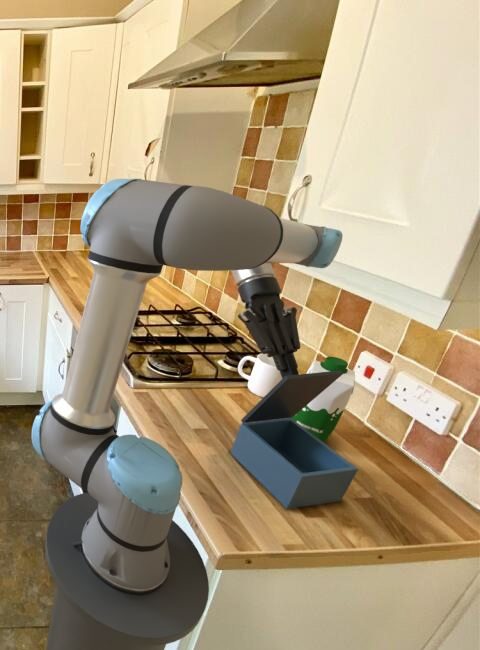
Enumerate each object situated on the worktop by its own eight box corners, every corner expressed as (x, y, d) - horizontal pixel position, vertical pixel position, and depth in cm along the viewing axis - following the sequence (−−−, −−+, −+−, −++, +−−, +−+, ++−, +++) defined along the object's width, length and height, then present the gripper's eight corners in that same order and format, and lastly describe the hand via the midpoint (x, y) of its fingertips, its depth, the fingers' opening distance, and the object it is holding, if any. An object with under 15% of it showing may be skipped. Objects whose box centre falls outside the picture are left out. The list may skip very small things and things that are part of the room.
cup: (275, 403, 113) (288, 372, 108) (228, 384, 121) (238, 354, 117) (285, 391, 118) (297, 361, 113) (238, 374, 126) (248, 345, 121)
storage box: (340, 501, 84) (358, 469, 80) (286, 509, 82) (302, 476, 78) (277, 447, 98) (290, 417, 94) (230, 453, 96) (241, 423, 92)
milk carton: (328, 431, 102) (362, 363, 94) (326, 451, 96) (362, 380, 88) (286, 417, 108) (314, 350, 99) (281, 434, 101) (310, 365, 93)
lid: (343, 373, 81) (340, 370, 82) (288, 378, 80) (285, 375, 80) (292, 417, 93) (289, 414, 94) (242, 423, 92) (240, 420, 92)
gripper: (268, 287, 98) (305, 385, 90) (218, 290, 96) (252, 391, 88) (295, 273, 91) (337, 378, 83) (242, 276, 89) (281, 384, 81)
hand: (293, 385), depth 86 cm, fingers closed
